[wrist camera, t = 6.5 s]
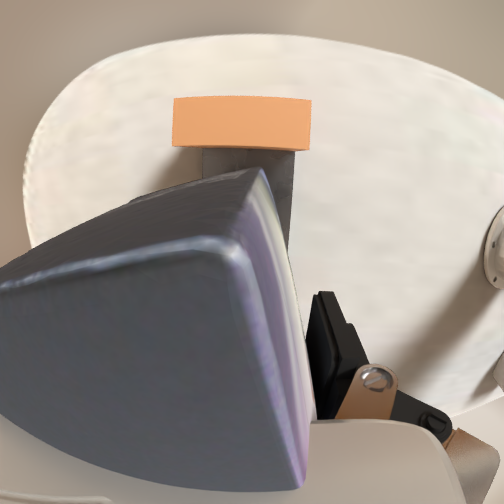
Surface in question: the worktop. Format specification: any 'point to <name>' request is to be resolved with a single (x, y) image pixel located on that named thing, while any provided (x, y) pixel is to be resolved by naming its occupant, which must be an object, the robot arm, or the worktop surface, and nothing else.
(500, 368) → the beige piece
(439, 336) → the worktop surface
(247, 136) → the vise slide jaw
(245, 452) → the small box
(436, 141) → the worktop surface
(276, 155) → the grey bent bar
